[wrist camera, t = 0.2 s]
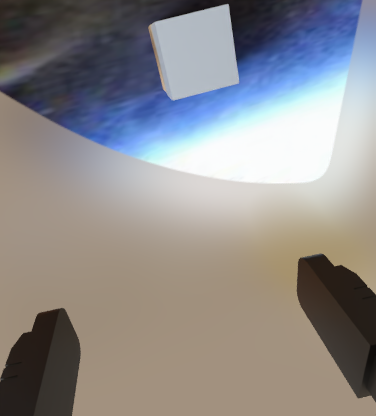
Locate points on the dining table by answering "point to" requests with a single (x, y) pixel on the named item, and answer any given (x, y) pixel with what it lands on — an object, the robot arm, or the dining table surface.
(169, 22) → the tower mid
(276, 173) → the dining table surface
